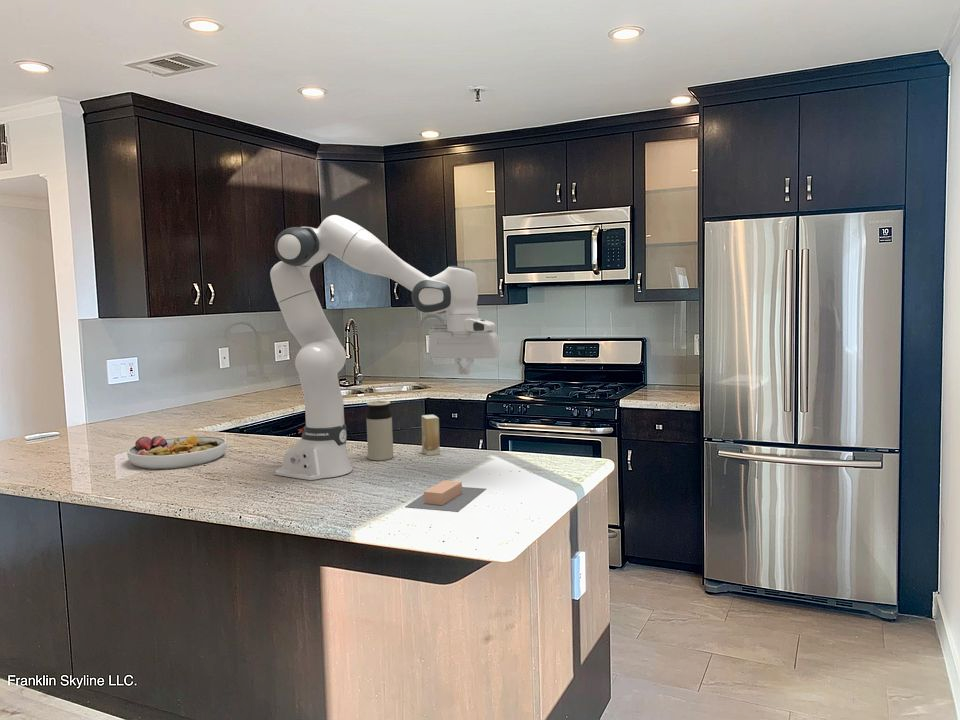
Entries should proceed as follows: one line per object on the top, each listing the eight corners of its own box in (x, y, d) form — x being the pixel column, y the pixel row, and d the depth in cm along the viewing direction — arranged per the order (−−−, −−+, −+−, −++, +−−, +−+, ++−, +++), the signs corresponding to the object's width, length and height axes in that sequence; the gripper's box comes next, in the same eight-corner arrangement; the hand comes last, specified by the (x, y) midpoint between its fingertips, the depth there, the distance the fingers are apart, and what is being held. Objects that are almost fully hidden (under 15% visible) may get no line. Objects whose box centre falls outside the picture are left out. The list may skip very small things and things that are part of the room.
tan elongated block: (444, 491, 185) (424, 503, 175) (444, 480, 184) (423, 491, 174) (462, 493, 183) (442, 505, 173) (461, 481, 182) (441, 493, 172)
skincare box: (421, 451, 233) (420, 415, 232) (434, 450, 235) (433, 414, 234) (427, 456, 227) (426, 418, 226) (440, 454, 229) (439, 417, 228)
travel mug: (391, 460, 222) (389, 403, 220) (366, 461, 222) (363, 404, 221) (395, 454, 230) (392, 400, 228) (370, 455, 230) (368, 400, 228)
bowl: (242, 449, 246) (241, 427, 246) (201, 471, 217) (199, 446, 216) (160, 450, 249) (158, 428, 248) (108, 472, 219) (106, 447, 219)
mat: (404, 508, 172) (404, 506, 172) (437, 486, 191) (437, 485, 191) (458, 513, 168) (458, 511, 168) (486, 490, 186) (486, 488, 186)
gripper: (423, 325, 197) (425, 375, 199) (493, 325, 190) (494, 376, 192) (433, 324, 203) (434, 372, 205) (500, 323, 196) (502, 373, 198)
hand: (464, 374), depth 198 cm, fingers closed
